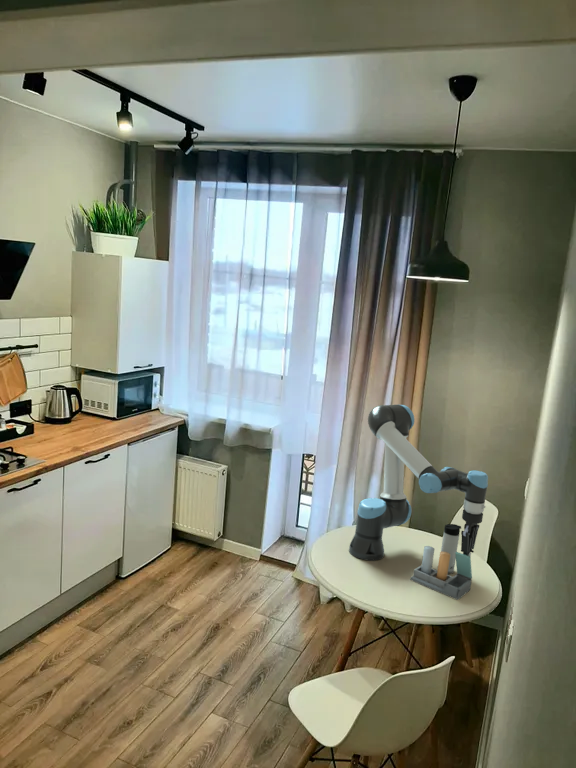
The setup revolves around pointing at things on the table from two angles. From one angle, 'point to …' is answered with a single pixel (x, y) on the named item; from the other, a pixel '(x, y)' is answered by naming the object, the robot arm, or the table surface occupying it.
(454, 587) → the housing
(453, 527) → the travel mug
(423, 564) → the ball
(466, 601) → the table surface
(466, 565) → the lid
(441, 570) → the orange capsule
